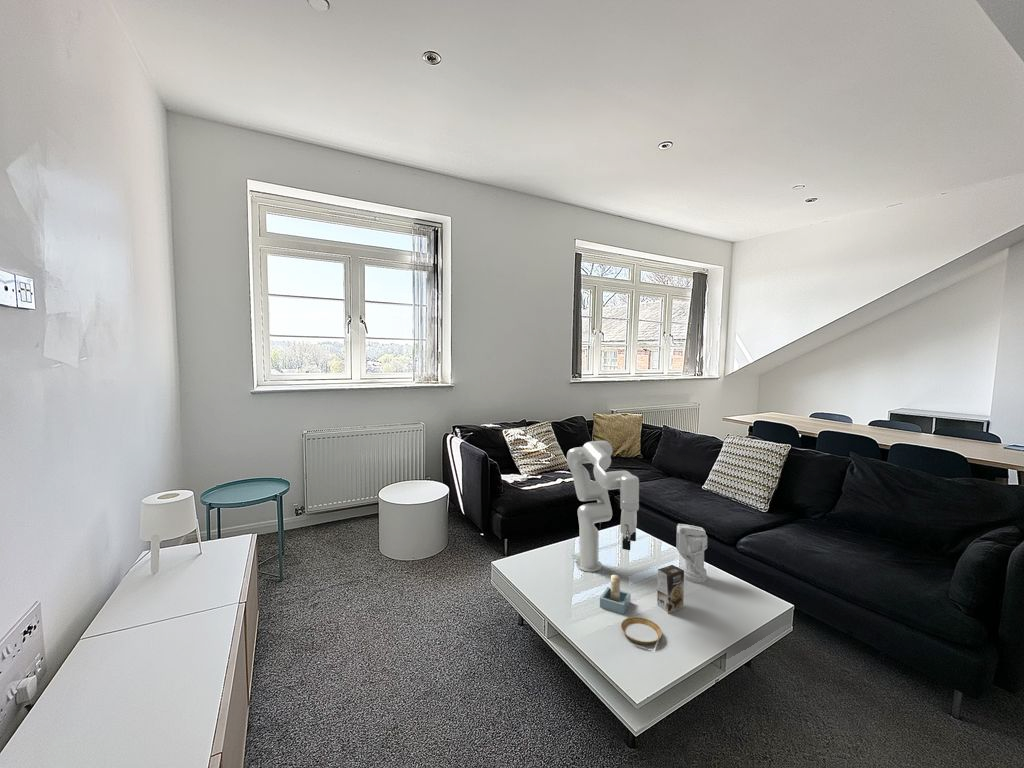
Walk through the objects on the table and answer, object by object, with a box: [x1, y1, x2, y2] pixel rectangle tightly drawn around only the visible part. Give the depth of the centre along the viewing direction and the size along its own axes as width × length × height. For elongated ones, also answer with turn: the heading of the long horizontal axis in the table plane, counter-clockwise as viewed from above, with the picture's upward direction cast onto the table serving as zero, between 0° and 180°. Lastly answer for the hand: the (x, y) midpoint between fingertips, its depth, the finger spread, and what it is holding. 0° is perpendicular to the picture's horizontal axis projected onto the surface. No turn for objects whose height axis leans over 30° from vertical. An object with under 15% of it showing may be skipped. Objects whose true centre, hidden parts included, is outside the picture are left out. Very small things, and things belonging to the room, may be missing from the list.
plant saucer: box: [620, 616, 663, 645], centre depth 157 cm, size 15×15×3 cm
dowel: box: [610, 574, 621, 603], centre depth 175 cm, size 4×4×12 cm
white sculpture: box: [676, 523, 708, 584], centre depth 197 cm, size 13×10×25 cm
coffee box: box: [656, 564, 685, 614], centre depth 174 cm, size 9×6×16 cm
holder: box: [599, 586, 632, 615], centre depth 175 cm, size 10×10×4 cm
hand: (629, 544), depth 176 cm, fingers open, 9 cm apart
